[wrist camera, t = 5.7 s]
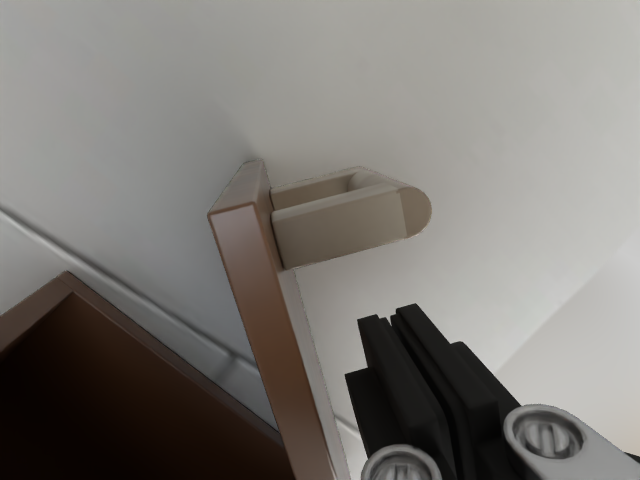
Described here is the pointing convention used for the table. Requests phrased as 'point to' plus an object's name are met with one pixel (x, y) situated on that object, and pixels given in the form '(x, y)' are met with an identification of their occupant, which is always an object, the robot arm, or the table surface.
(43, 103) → the table surface
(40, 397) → the cupboard
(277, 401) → the cupboard door
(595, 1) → the table surface
